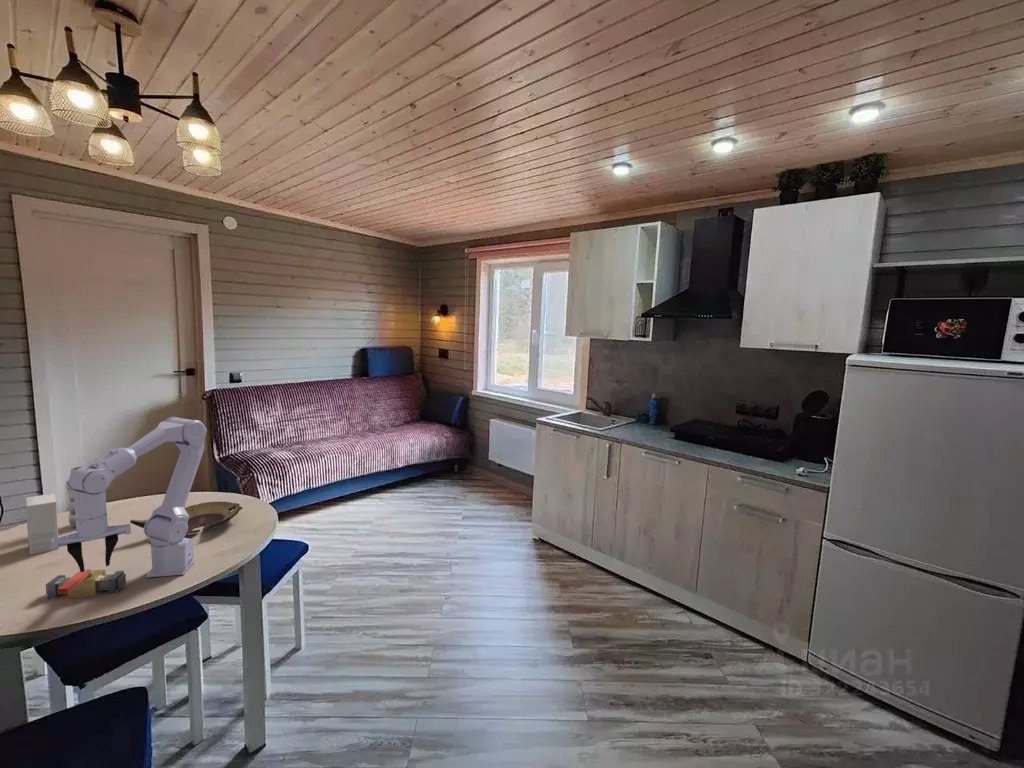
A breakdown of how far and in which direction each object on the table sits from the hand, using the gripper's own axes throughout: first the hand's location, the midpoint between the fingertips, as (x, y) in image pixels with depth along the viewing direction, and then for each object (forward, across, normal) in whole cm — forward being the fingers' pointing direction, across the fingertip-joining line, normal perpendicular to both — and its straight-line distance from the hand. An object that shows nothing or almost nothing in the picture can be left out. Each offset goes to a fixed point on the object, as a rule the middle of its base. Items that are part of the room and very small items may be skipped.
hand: (95, 567), depth 116 cm
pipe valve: (+10, +2, -8) cm, 13 cm away
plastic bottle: (+10, +3, -58) cm, 59 cm away
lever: (+5, +4, -5) cm, 8 cm away
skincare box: (+10, +12, -45) cm, 48 cm away
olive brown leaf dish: (+10, -25, -36) cm, 44 cm away
